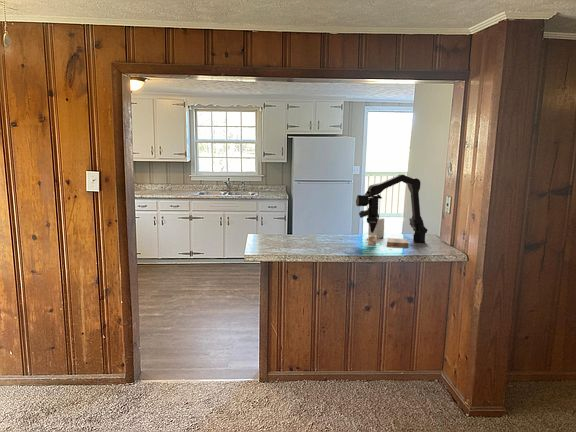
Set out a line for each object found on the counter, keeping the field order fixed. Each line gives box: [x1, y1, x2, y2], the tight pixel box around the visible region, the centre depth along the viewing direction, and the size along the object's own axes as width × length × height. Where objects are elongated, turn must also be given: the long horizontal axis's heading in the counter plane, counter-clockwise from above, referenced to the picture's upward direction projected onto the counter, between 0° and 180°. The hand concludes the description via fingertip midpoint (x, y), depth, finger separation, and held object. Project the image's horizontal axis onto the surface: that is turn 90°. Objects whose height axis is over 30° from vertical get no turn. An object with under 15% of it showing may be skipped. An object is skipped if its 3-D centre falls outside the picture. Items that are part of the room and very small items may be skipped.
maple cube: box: [367, 235, 377, 245], centre depth 253 cm, size 4×4×4 cm
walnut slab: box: [386, 237, 409, 248], centre depth 249 cm, size 12×12×3 cm
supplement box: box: [367, 217, 385, 240], centre depth 271 cm, size 7×7×13 cm
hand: (372, 231), depth 253 cm, fingers open, 9 cm apart
